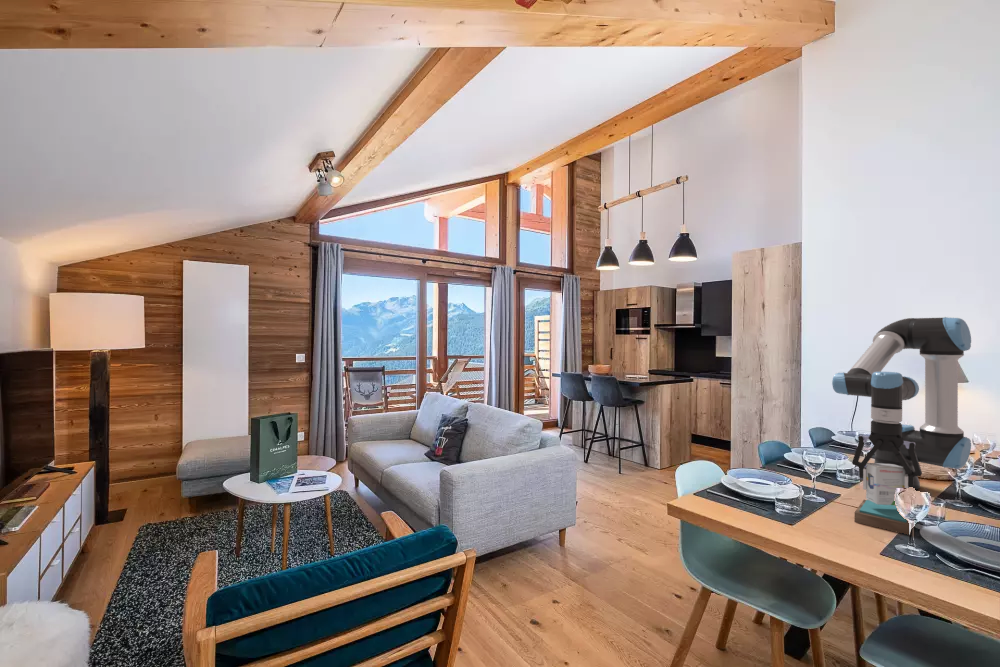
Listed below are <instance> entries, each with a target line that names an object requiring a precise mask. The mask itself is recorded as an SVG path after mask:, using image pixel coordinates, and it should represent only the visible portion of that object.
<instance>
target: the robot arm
mask: <svg viewBox="0 0 1000 667" xmlns="http://www.w3.org/2000/svg"><path fill="white" fill-rule="evenodd" d="M971 347H972V335H971V331H970V328H969V326H968V324H967V322H966V321H965V320H964V319H963V318H960V317H948V316H947V317H946V316H944V317H910V318H902V319H899V320H896V321H894V322H892V323H889V324H887V325H885V326H884V327H883V328H881V329H880V330H878V332H876V334H875V335H874V336H873V338H872V343H871V345H870V346H868V348H867V349H866V350H865V352H863V354H862V355H861V356H860V358H858V360H857V361H856V362H855V363H854V364H853V365H852V366H851V368H850V369H849V370H848V371H847V373H846V372H836V373H835V374H834V375H833V377H832V381H831V382H832V383H831V385H832V389H833V391H834V392H835V393H837V394H841V395H847V396H857V397H866V398H870V403H871V404H870V418H871V420H870V434H869V435H863V434H860V435H858V437H857V438H858V439H857V441H858V444H857V448H856V450H855V452H854V456H853V458H852V461H851V464H852V465H854V466H857V468H858V476H859V478H860V479H861V478H862V489H863V490H865V491H866V473H867V463H869V461H870V460H871V459H872V457H873V456H874V461H873V463H881V464H895V465H898V466H901V467H903V468H904V470H905V488H909V487H913V488H915V489H918V488H920V487H921V486H920V485H921V484H920V483H921V482H920V480H919V477H921V476H922V474H923V471H922V469H921V465H920V463H922V464H927V465H931V466H938V467H942V468H946V469H947V468H949V469H956V470H959V469H960V470H961V469H963V468H964V467H965V466H966V464H967V463H968V461H969V457H970V454H971V449H972V443H971V439H970V438H968V437H967V436H965V434H964V430H962V428H960V427H959V426H958V425H959V424H958V423H959V422H958V421H959V420H958V418H959V416H958V415H959V411H958V406H959V405H958V404H959V401H958V399H959V397H958V395H959V393H958V390H959V388H958V387H959V386H958V384H959V382H958V381H959V378H958V377H959V376H958V375H959V370H958V369H959V366H958V364H959V360H960V359H961V358H963V357H964V356H965V354H964V353H965V352H967V351H969V350H970V349H971ZM908 349H909V350H910V349H911V350H919V355H920V356H921V357H922V358H923V359H924V361H925V362H924V364H925V365H924V370H925V371H924V375H925V376H924V380H925V381H924V382H925V383H924V387H925V388H924V389H925V390H924V393H925V394H924V396H925V397H924V398H925V399H924V408H925V409H924V411H925V412H924V414H925V415H924V416H925V417H924V420H925V422H924V423H923V424H922V425H920V426H919V430H916V428H915V426H914V425H911V424H902V423H901V422H902V421H903V401H907V400H911V399H913V398H915V397H916V396H917V395H918V394H919V392H920V391H919V390H920V387H919V386H920V385H919V383H917V381H916V380H915V379H913V378H912V377H910V376H903V374H901V373H900V372H895V371H883V370H884V368H885V367H886V366H887V364H888V363H889V362H890V360H891V359H893V357H894V356H895V354H898V353H900V352H902V351H903V350H908ZM868 440H869V442H870V443H872V445H873V446H872V448H871V449H870V450H869V451H868V452H867V454H866V456H865V457H864V458H863V459H862V460H861V461H860V458H861V456H862V452H863V449H864V446H865V443H867V442H868ZM920 489H921V488H920ZM918 490H919V489H918Z"/></svg>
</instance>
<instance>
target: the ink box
mask: <svg viewBox="0 0 1000 667" xmlns="http://www.w3.org/2000/svg"><path fill="white" fill-rule="evenodd" d="M866 468H867V473H866V490H865V500H870V501H872V502H874V503H876V504H879V505H894V506H896V505H895V501H894V494H895V490H896V488H905V470H904V468H903V467H901V466H898V465H895V464H881V463H874V462H867V464H866Z"/></svg>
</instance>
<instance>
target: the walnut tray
mask: <svg viewBox="0 0 1000 667" xmlns="http://www.w3.org/2000/svg"><path fill="white" fill-rule="evenodd" d="M896 506H897V505H879V504H876V503H874V502H872V501H870V500H868V499H863V500H862V501H861V503H860V504H859V506H858V507H856V510H855V512H854V523H858V524H861V525H862V524H863V525H866V526H870V527H874V528H878V527H879V529H882V528H883V530H886V529H887V530H886V531H890V530H891V531H890V532H894V531H897V532H896V533H898V532H900V533H899V534H902V533H904V534H903V535H906V534H907V536H909V535H908V534H909V523H908V521H907V520H906V519H904V518H903V517H902V516H901V515H900V514H899V512H898V511H897V508H896Z"/></svg>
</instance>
